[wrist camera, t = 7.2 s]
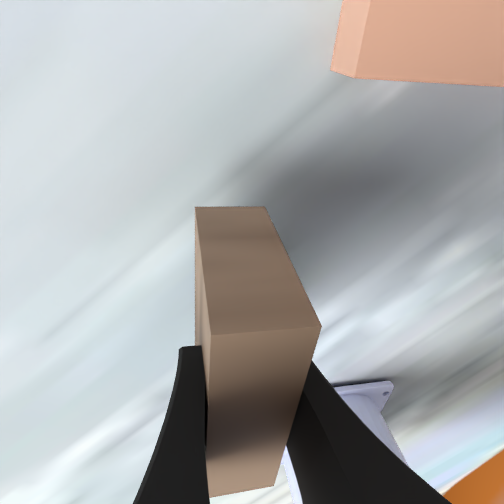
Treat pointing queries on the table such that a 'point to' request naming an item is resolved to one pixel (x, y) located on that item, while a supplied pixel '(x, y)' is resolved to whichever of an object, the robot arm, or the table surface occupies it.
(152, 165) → the table surface
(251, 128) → the table surface
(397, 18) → the glazed tile
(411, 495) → the robot arm
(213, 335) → the bar
